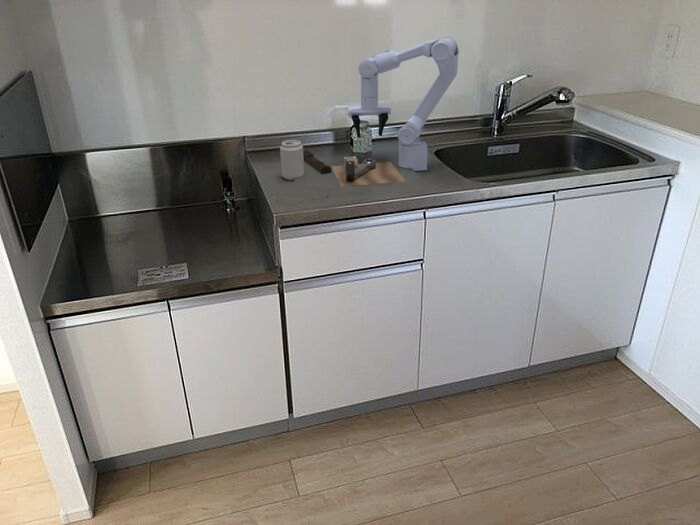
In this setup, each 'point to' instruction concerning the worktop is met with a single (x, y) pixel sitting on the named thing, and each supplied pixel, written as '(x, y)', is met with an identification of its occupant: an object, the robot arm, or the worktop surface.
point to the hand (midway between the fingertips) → (369, 136)
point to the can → (292, 159)
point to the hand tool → (316, 163)
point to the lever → (358, 168)
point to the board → (369, 174)
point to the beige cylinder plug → (354, 161)
